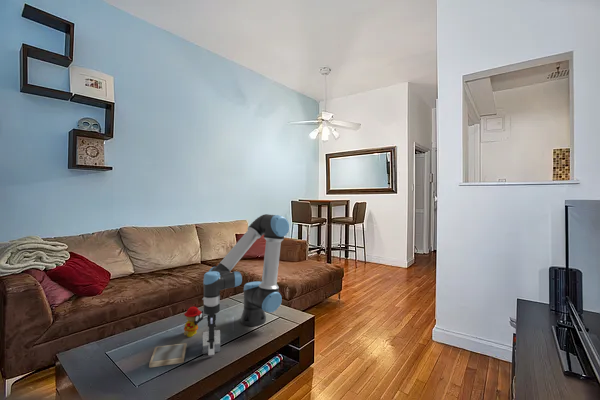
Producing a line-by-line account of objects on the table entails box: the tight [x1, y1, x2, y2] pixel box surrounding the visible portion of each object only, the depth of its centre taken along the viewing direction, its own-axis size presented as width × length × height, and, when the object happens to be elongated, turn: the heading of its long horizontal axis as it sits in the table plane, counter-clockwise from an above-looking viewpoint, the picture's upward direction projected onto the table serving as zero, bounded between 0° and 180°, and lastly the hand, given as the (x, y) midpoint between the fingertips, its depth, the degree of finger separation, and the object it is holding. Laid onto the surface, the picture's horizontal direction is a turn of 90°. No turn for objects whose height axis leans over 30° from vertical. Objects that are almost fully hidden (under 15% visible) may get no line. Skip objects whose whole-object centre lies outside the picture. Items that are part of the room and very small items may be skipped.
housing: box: [202, 329, 221, 355], centre depth 141 cm, size 8×6×8 cm
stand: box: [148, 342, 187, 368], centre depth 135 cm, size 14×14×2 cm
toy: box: [183, 306, 204, 338], centre depth 156 cm, size 11×9×15 cm
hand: (211, 347), depth 141 cm, fingers open, 12 cm apart
